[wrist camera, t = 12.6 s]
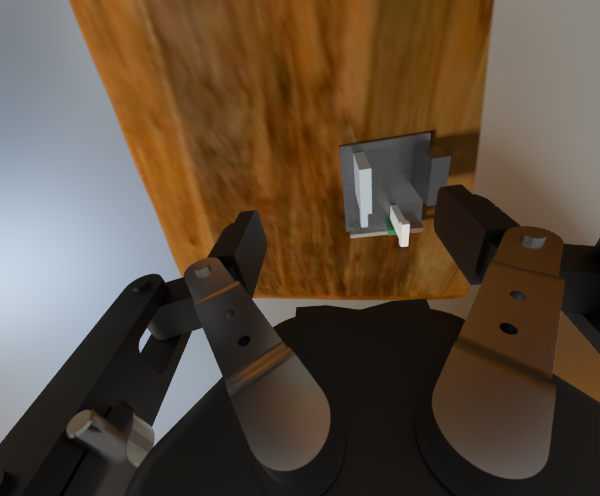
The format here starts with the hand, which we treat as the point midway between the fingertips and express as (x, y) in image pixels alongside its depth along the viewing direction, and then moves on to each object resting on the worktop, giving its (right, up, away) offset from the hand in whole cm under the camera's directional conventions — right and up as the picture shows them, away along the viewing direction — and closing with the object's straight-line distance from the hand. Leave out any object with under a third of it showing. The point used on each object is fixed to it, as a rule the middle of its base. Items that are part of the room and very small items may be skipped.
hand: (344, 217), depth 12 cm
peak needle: (+13, +4, +29) cm, 32 cm away
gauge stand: (+11, +8, +28) cm, 31 cm away
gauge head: (+7, +8, +27) cm, 29 cm away
